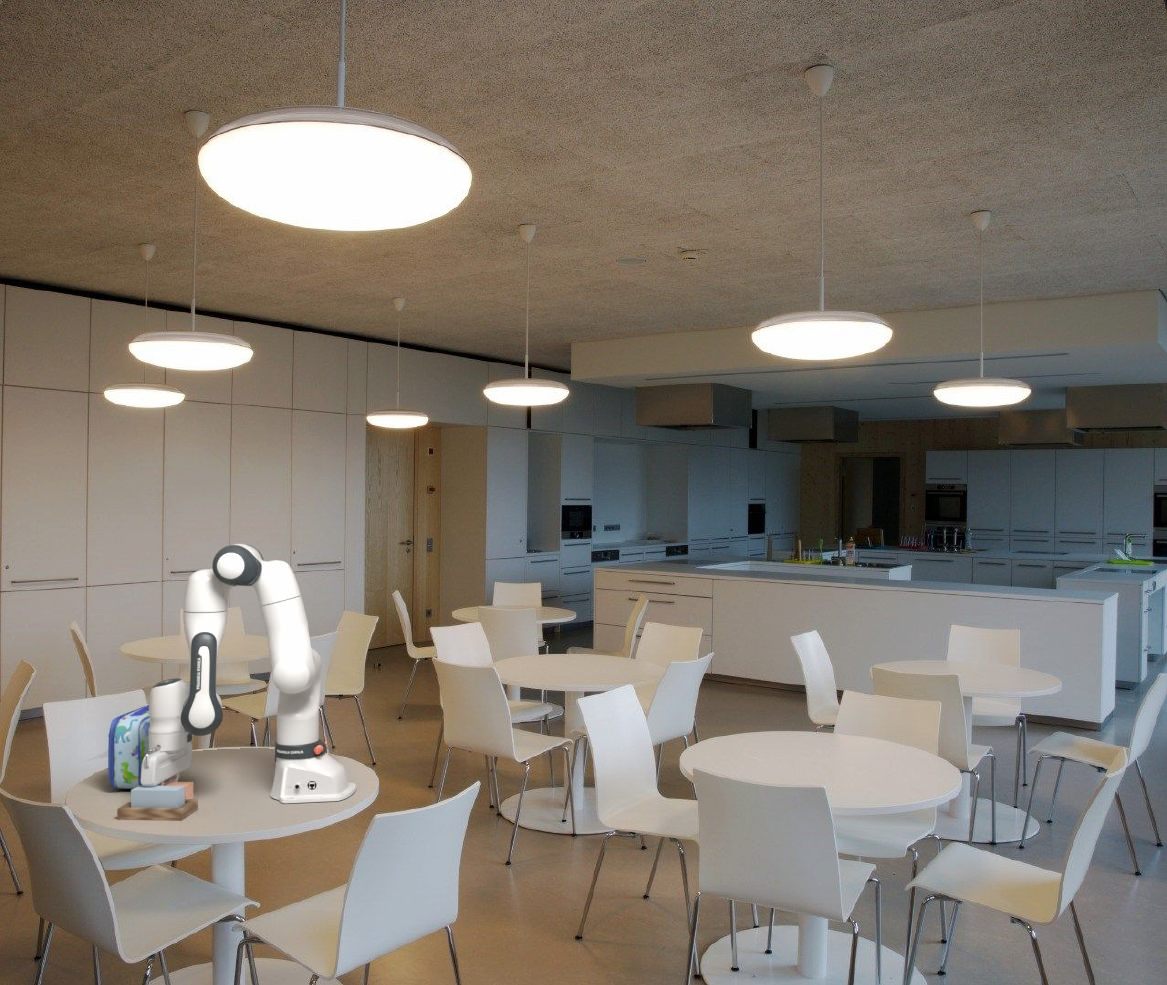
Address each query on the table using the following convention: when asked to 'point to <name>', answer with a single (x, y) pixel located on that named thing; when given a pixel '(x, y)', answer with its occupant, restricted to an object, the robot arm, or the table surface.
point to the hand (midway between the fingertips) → (166, 793)
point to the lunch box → (128, 748)
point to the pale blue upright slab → (158, 796)
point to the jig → (157, 812)
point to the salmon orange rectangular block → (187, 788)
